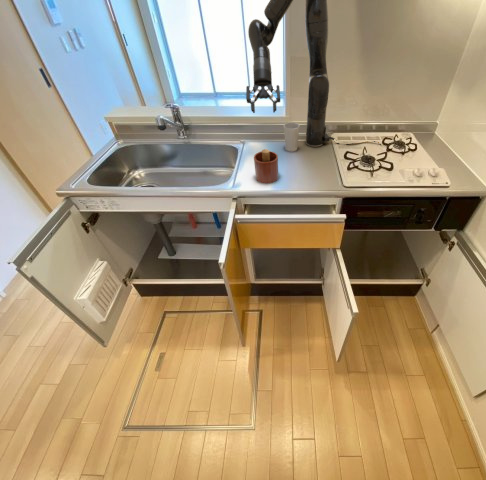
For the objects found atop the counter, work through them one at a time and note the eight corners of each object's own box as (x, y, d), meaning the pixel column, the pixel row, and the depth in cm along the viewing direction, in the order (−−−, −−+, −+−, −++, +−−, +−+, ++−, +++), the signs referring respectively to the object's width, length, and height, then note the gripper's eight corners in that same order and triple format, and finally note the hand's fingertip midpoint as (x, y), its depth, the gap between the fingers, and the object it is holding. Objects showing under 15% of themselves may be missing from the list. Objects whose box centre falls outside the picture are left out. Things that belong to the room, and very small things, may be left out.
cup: (281, 150, 137) (280, 127, 129) (287, 143, 142) (287, 121, 134) (295, 153, 135) (295, 130, 126) (301, 146, 140) (302, 123, 131)
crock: (275, 169, 124) (275, 149, 117) (280, 181, 118) (280, 161, 110) (254, 172, 123) (252, 152, 116) (258, 184, 116) (255, 164, 109)
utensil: (270, 173, 121) (268, 148, 112) (271, 177, 119) (270, 152, 110) (263, 174, 121) (261, 149, 112) (264, 178, 118) (262, 153, 110)
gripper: (244, 67, 107) (245, 108, 108) (279, 67, 108) (280, 107, 108) (246, 78, 115) (248, 116, 115) (279, 78, 115) (280, 115, 116)
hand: (264, 111), depth 112 cm, fingers open, 8 cm apart
